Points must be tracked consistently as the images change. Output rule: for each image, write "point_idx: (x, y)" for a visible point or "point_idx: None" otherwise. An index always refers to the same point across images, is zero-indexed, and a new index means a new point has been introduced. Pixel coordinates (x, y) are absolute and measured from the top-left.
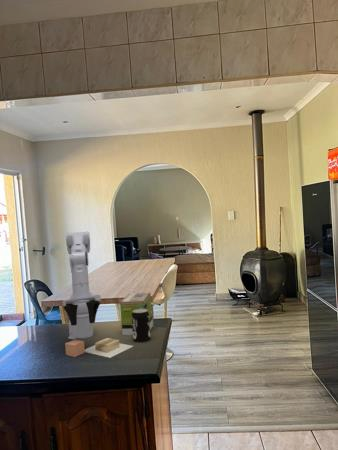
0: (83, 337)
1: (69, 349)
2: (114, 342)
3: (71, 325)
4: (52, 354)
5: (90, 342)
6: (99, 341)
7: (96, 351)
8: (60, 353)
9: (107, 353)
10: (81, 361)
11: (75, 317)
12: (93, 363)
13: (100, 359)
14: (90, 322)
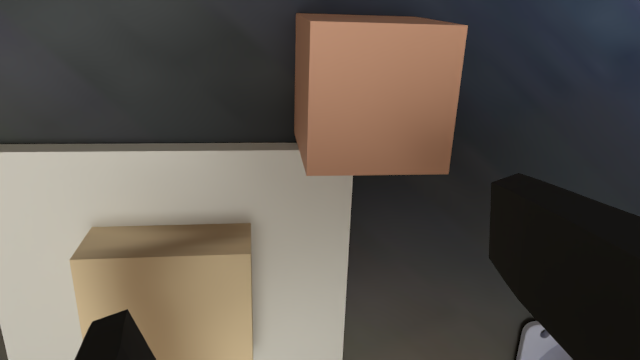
0: (558, 356)
1: (383, 20)
2: None
3: (522, 175)
4: (593, 14)
5: (465, 338)
6: (243, 299)
7: (212, 201)
8: (538, 65)
9: (76, 213)
10: (205, 12)
11: (585, 346)
12: (58, 27)
13: (84, 126)
14: (106, 324)
